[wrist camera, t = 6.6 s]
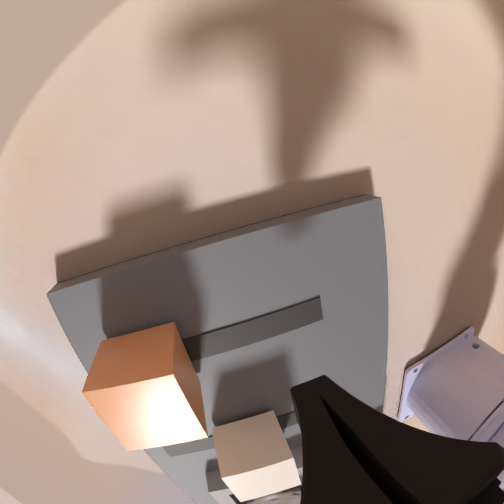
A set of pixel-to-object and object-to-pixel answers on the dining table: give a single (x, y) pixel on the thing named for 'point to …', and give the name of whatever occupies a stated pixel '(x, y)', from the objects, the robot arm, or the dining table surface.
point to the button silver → (279, 497)
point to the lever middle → (255, 457)
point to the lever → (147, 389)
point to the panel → (250, 320)
